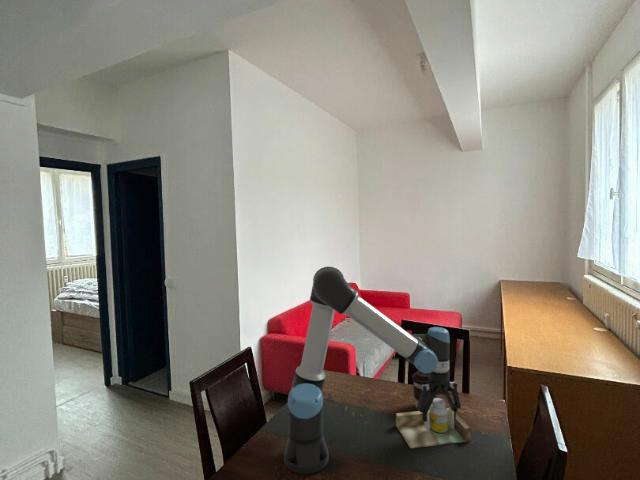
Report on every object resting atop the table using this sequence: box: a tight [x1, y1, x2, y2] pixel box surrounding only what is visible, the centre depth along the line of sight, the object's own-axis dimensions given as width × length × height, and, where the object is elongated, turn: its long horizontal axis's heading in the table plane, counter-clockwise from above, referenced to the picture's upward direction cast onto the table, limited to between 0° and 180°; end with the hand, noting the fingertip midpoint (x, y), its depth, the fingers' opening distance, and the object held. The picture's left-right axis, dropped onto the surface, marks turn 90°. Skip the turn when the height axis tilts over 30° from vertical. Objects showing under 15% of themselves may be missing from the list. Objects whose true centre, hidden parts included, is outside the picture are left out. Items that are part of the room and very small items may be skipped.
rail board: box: [395, 407, 472, 449], centre depth 129 cm, size 23×14×5 cm, turn 99°
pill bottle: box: [430, 397, 448, 435], centre depth 130 cm, size 6×6×12 cm
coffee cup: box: [411, 370, 433, 410], centre depth 148 cm, size 10×10×15 cm
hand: (439, 427), depth 130 cm, fingers open, 9 cm apart
